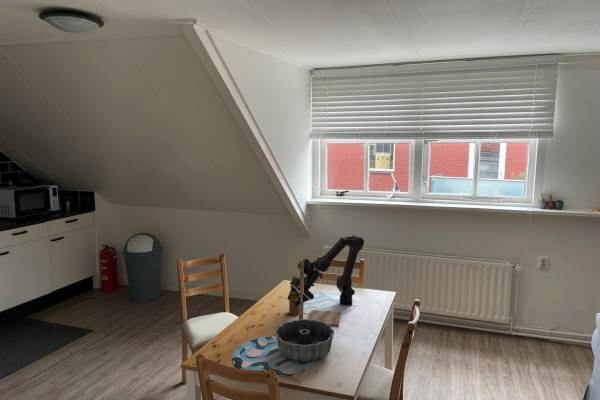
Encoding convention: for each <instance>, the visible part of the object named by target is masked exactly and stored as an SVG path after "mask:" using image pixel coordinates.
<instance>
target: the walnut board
mask: <svg viewBox="0 0 600 400" xmlns="http://www.w3.org/2000/svg"><path fill="white" fill-rule="evenodd" d="M341 316H342V312H341V311H333V310H318V309H311V310H310V313H309V316H308V318H307V319H308V320H316V321H320V322H324V323H326V324H327V325H329V326H332V328H333V327H335V328H339V325H340V321H341Z"/></svg>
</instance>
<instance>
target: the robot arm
mask: <svg viewBox="0 0 600 400" xmlns="http://www.w3.org/2000/svg"><path fill="white" fill-rule="evenodd" d="M364 244H365V240H364V238H363V237H361V236H358V235H355V234H354V235H352V236H345V237H343V236H342V237H340V238H339V239H338V241H337V242H336V243H335V244H334V245H333V246H332V247H331V248H330V249H329V251H327V252H326V254H324V255H322V256H320V257H318V258H317V259H316V260H315V261H312V262H311V261H310V260H309V259H307V258H305V259H303V260H302V261H303V262H304V273H303V274H304V275H306V276H303V277H304V294H303V303H302V304H304V303H307V302H308V301H313V300H314V298H315V294H314V293H312V292H311V291H310V289H311V287H314V286H315V283H316V281H318V279H319V278H321V279H323V278H324V277H323V273H326V271H328V270H329V268H330V267H331V264H332V262H333V261H334V260H335V258H336V257H337V256H338V255H339V254H340V253H341V252H342V251H343V250H344V249H345V248H346V247H347V246H348V250H349V251H348V255H347V259H346V261H345V265H344V268H343V272H342V275H341V276H338V277H337V281H336V282H335V283H336V289H337V290H338V292H340V295H339V303H340V306H347V307H349V306H351V307H352V306H353V296H354V295H355V294H356V290H354V288H352V286H353V282H352V275H353V271H354V268H355V264H356V261H357V257H358V255H359V253H360V252H361V251H362V249H363V247H364ZM300 263H301V261H299V263H298V264H297V269H298V270H300ZM289 284H290V285H289V286H290V290H289V293H288V296H287V299H286V300H287V301H289V298H290V293H291V292H294V291H296V292H301V291H300V277H299V276H297V275H293V276H292V277H291V281H290V282H289ZM299 304H300V297H299V299H298V300H297V302H296V303H295V305H296V306H297V305H299ZM300 305H301V304H300Z"/></svg>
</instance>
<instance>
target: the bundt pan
mask: <svg viewBox="0 0 600 400" xmlns="http://www.w3.org/2000/svg"><path fill="white" fill-rule="evenodd" d="M274 335H275V339H276V343H277V347H278V351H279V353H280V354H281V355H283V356H284V357H285V358H287V359H289V360H293V361H295V362H298V361H300V362H309V361H311V362H315V361H317V360H320V359H322V358H324V357H325V355H326V356H327V355H328V354H329V353H330V351H331V348H332V343H333V339H334V335H335V330H334V328H333V326H329V325H327V324H326V323H324V322H320V321H316V320H308V318H307V319H306V318H304V319H303V318H301V319H292V320H291V321H285V322H283V323H281V325H279V326H278V325H277V327H276V329H275V330H274Z"/></svg>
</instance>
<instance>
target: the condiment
mask: <svg viewBox="0 0 600 400" xmlns="http://www.w3.org/2000/svg"><path fill="white" fill-rule="evenodd" d="M289 293H290V292H289ZM300 296H301V292H300V291H298V292H296V291H294V292H291V293H290V298H289V300H288V304H289V305H288V308H289V309H288V310H289V311H288V312H285V313H283V314H282V315H283V316H284V317H285V316H286V317H287V318H290V319H292V318H293V319H295V318H297V317H299V316H298V315H299V305H297V306H296V305H295V303H296V302H297V300H298V299H299V297H300Z"/></svg>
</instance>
